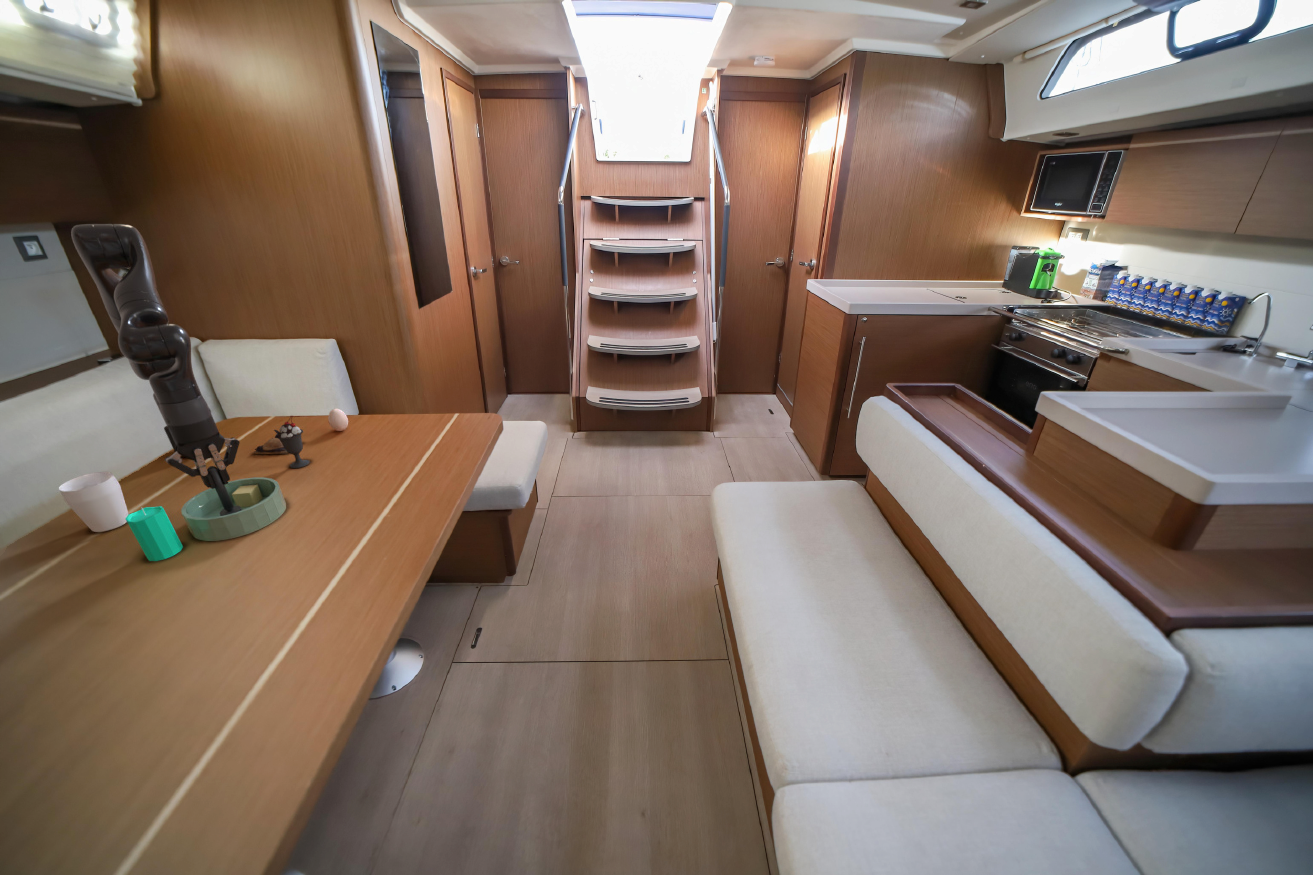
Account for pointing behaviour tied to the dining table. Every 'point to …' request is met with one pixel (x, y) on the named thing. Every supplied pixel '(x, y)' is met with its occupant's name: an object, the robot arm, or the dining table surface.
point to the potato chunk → (247, 496)
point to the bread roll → (271, 447)
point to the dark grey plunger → (222, 492)
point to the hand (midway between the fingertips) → (218, 485)
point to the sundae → (292, 442)
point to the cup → (96, 500)
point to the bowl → (213, 527)
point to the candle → (154, 533)
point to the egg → (338, 420)
